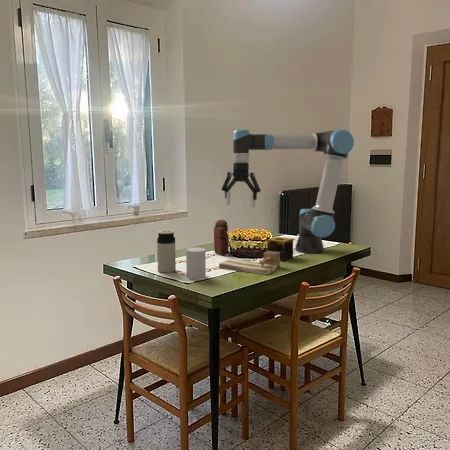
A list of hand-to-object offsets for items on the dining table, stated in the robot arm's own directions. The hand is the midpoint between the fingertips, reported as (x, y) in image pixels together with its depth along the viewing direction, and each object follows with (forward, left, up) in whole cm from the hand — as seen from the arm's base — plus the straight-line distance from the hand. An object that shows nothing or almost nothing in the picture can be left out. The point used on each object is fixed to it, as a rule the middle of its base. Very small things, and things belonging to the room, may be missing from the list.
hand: (240, 205), depth 224 cm
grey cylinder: (+39, -1, -27) cm, 47 cm away
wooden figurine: (-6, -14, -27) cm, 31 cm away
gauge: (+11, +20, -27) cm, 35 cm away
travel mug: (+37, -18, -27) cm, 49 cm away
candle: (-11, +17, -27) cm, 34 cm away
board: (+15, +12, -27) cm, 33 cm away
